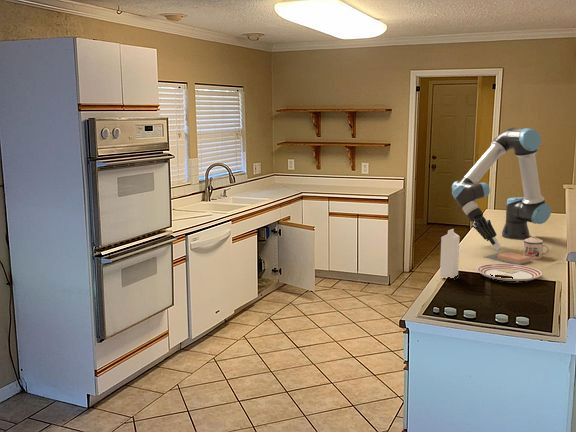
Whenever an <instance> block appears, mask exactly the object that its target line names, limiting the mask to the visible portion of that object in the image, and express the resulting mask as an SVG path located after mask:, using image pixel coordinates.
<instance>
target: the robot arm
mask: <svg viewBox="0 0 576 432" xmlns="http://www.w3.org/2000/svg"><path fill="white" fill-rule="evenodd" d="M541 143H542V139H541V134H540V133H539V132H538V131H537V130H536V129H533V128H530V127H509V128H507V129H505V130H503V131H501V132H500V133H499V134H498V135H497V136H496V137H495V138H494V139H492V141H491V143H490V146H489V147H488V148H487V149H486V151H485V152H484V153H483V154H482V155H481V156H480V158H478V160H477V161H476V162H475V164H473V166H472V167H471V168H470V169H469V170H468V172H466V174H465V175H464V176H463V177H462V178H461V179H460V180H456V181H454V182H453V183H452V185H451V195H452V196H453V199H454V200H455V201H456V202H457V204H458V206H459V207H460V208H461V209H462V211H463V212H464V214H465V215H466V217H467V219H468V220H469V221H470V222H472V225H471V227H472V228H473V229H474V230H475V231H477V232H478V234H480V236H481V237H482V238H483V239H484V240H486V241H487V242H488V241H489V242H490V243H491V245H492V246H493V248H494V249H495V251H497V252H498V251H500V250H501V249H502V248H503V247H502V246H501V244H500V242H499V241H498V239H497V237H496V236H497V232H496V230H495V229H494V227H493V225H492V222H491V220H490V219H488V220H487V219H486V218H485V217H484V212H483V211H482V209H481V208H479V207H480V206H479V204H478V203H477V202H476V200H477V201H478V200H479V199H482V198H485V197H487V196H489V195H490V192H491V191H490V189H491V188H490V186H489V184H487V182H479V181H480V180H481V179H482V178H483V177H484V175H485V174H486V173H487V172H488V171H489V170H490V168H491V167H492V166H493V165H494V163H496V161H498V159H499V158H500V157H501V156H502V155H505V154H506V153H507V152H509V151H510V150H513V151H514V153H513V154H514V156H515V157H517V159H518V165H519V170H520V176H521V177H520V178H521V184H522V191H523V197H522V196H521V197H509V198H507V200H506V205H505V210H506V211H505V224H504V226H503V229H502V231H501V236H502V237H503V238H507V239H511V240H513V239H514V240H525V239H528V238H530V237H531V236H530V235H531V234H530V229H529V226H528V223H532V224H535V225H536V224H537V225H542V224H545V223H546V222H547V221H548V220H549V218H550V216H551V214H552V210H551V209H552V208H551V206H550V205H549V204H547V203H546V199H545V197H544V196H543V195H542V193H541V192H542V191H541V185H540V179H539V173H538V172H539V171H538V166H537V165H538V164H537V158H536V155H537V153H538V149H539V148H540V146H541V145H540V144H541ZM478 182H479V183H478Z"/></svg>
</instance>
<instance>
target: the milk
mask: <svg viewBox="0 0 576 432" xmlns="http://www.w3.org/2000/svg"><path fill="white" fill-rule="evenodd" d="M454 229H455V228H451V229H449V230H447V233H446V234H445V235H443V236H441V239H440V261H439V262H440V263H439V264H440V265H439V267H440V268H439V278H440V277H450V278H454V277H455V276H457V275H458V276H459V264H460V263H459V261H460V259H459V257H460V239H461V238H460V235H459V234H457V233H456V232H455V230H454Z"/></svg>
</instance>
